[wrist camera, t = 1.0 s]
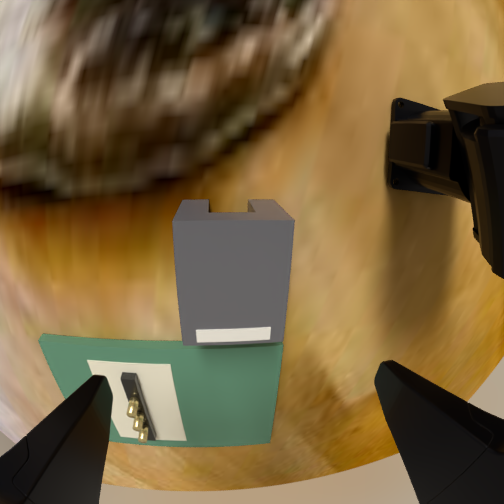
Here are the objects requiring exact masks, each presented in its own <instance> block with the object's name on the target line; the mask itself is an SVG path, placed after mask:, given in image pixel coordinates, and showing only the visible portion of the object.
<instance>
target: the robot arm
mask: <svg viewBox="0 0 504 504" xmlns="http://www.w3.org/2000/svg"><path fill="white" fill-rule="evenodd" d="M443 101H444V104H445V107H446V109H448V110H443V111H441V110H438V109H435V108H432V107H429V106H426V105H423V104H420V103H417V102H413V101H410V100H407V99H403V98H395V99H394V100H393V102H392V123H391V126H390V144H389V169H388V179H387V183H388V186H389V187H391V188H393V189H399V190H408V191H417V192H425V193H433V194H440V195H447V196H448V195H449V196H452V197H455V198H458V199H460V200H463V201H466V202H469V203H471V208H472V215H473V222H474V228H473V235H474V238H475V239H476V240H477V241H478V242H479V244H480V248H481V252H482V255H483V256H484V258H485V259H486V260H487V262H488V263H489V264H490V265H491V266H492V272H493V273H495V274H496V275H498V276H499V277H501V278H503V279H504V82H497V83H486V84H482V85H479V86H477V87H474V88H471V89H468V90H465V91H463V92H460V93H457V94H455V95H452V96H449V97H447V98H444V99H443ZM398 102H399V103H400V104H401V107H399V106H398ZM394 179H396V183H395V184H393V181H394ZM374 383H375V387H376V390H377V394H378V397H379V400H380V403H381V406H382V410H383V413H384V416H385V419H386V421H387V424H388V426H389V429H390V431H391V433H392V436H393V438H394V440H395V443H396V445H397V448H398V450H399V452H400V455H401V457H402V460H403V462H404V465H405V467H406V470H407V472H408V475H409V477H410V480H411V483H412V485H413V488H414V490H415V493H416V496H417V498H418V501H419V503H420V504H504V419H501V418H499V417H497V416H494V415H492V414H490V413H488V412H485V411H483V410H481V409H480V408H478V407H476V406H474V405H472V404H470V403H468V402H466V401H465V400H463V399H461V398H459V397H457V396H456V395H454V394H452V393H450V392H448V391H447V390H445V389H443V388H441V387H439V386H438V385H436V384H434V383H432V382H430V381H429V380H427V379H425V378H423V377H422V376H420V375H418V374H416V373H415V372H413V371H411V370H409V369H407V368H406V367H404V366H402V365H400V364H399V363H397V362H395V361H393V360H388V361H383V362H382V363H381V364H380V366H379V368H378V371H377V374H376V376H375V380H374ZM112 405H113V393H112V390H111V387H110V385H109V382H108V379H107V377H106V376H104V375H96V374H95V375H92V376H91V377H90V378H89V379H88V380H87V381H85V382H84V383H83V384H82V385H81V386H80V387H79V388H78V389H77V390H75V391H74V392H73V393H72V394H71V395H70V396H69V397H68V398H67V399H65V400H64V401H63V402H62V403H61V404H60V405H59V406H58V407H57V408H55V409H54V410H53V411H52V412H51V413H50V414H49V415H48V416H47V417H45V418H44V419H43V420H42V421H41V422H40V423H39V424H38V425H37V426H36V427H34V428H33V429H32V430H31V431H30V432H29V433H28V434H27V436H24V437H23V438H22V439H21V440H20V441H19V442H18V443H17V444H16V445H14V447H12V448H11V449H10V450H9V451H7V452H6V453H5V454H4V455H2V456H1V457H0V504H99V497H100V490H101V484H102V477H103V471H104V465H105V460H106V454H107V449H108V443H109V437H110V426H111V414H112Z"/></svg>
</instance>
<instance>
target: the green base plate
mask: <svg viewBox="0 0 504 504" xmlns="http://www.w3.org/2000/svg"><path fill="white" fill-rule="evenodd" d="M38 341H39V344H40V346H41V349H42V351H43V353H44V356H45V358H46V360H47V363H48V365H49V367H50V369H51V371H52V374H53V376H54V378H55V380H56V382H57V384H58V386H59V388H60V390H61V392H62V394H63V396H64V398H65V399H67V398H68V397H69V396H70V395H71V394H72V393H73V392H74V391H75V390H77V389H78V388H79V387H80V386H81V385H82V384H83V383H84V382H85V381H87V380H88V379H89V378H90V377H91V376H92V375H95V374H96V375H104V376H106V377H107V379H108V382H109V385H110V387H111V390H112V393H113V405H112V414H111V426H110V437H109V441H112V442H120V443H129V444H139V445H151V446H169V447H224V446H242V445H255V444H265V443H270V439H271V433H272V426H273V420H274V413H275V406H276V399H277V392H278V384H279V377H280V369H281V361H282V353H283V343H282V342H271V343H255V344H235V345H200V346H183V341H143V340H116V339H99V338H84V337H72V336H61V335H51V334H42V335H41V337H40V338H39V340H38ZM122 372H128V373H137V377H138V380H139V384H140V387H141V390H142V394H143V397H144V400H145V403H146V406H147V409H148V412H149V415H150V418H151V421H152V424H153V426H154V429H155V432H156V441H149V440H147V443H140V442H139V441H138V437H139V432H138V431H135V430H133V422H134V418H130V417H128V416H127V409H128V404H129V402H128V399H127V396H126V394H125V391H124V388H123V385H122V382H121V375H122Z"/></svg>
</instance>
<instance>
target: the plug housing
mask: <svg viewBox="0 0 504 504" xmlns="http://www.w3.org/2000/svg"><path fill="white" fill-rule="evenodd" d="M294 222H295V220H294V219H293V218H292V217H291V216H290V215H289V214H288V213H287V212H286V211H285V210H284V209H283V208H282V207H281V206H280V205H279V204H278V203H277V202H276V201H275V200H264V199H248V212H229V213H209V199H208V200H182V202H181V204H180V207H179V209H178V211H177V213H176V215H175V217H174V219H173V241H174V257H175V271H176V284H177V295H178V305H179V315H180V324H181V333H182V341H183V346H200V345H235V344H255V343H271V342H283V338H284V329H285V320H286V311H287V301H288V291H289V281H290V270H291V259H292V247H293V235H294Z"/></svg>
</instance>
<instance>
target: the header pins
mask: <svg viewBox="0 0 504 504" xmlns="http://www.w3.org/2000/svg"><path fill="white" fill-rule="evenodd" d="M121 382H122V385H123V388H124V391H125V394H126V396H127V399H128V402H129V404H128V409H127V416H128V417H130V418H134V422H133V430H135V431H138V432H139V437H138V441H139V442H140V443H147V440H149V441H156V432H155V429H154V426H153V424H152V421H151V418H150V415H149V412H148V409H147V406H146V403H145V400H144V397H143V394H142V390H141V387H140V384H139V380H138V377H137V373H128V372H122V375H121Z"/></svg>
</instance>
